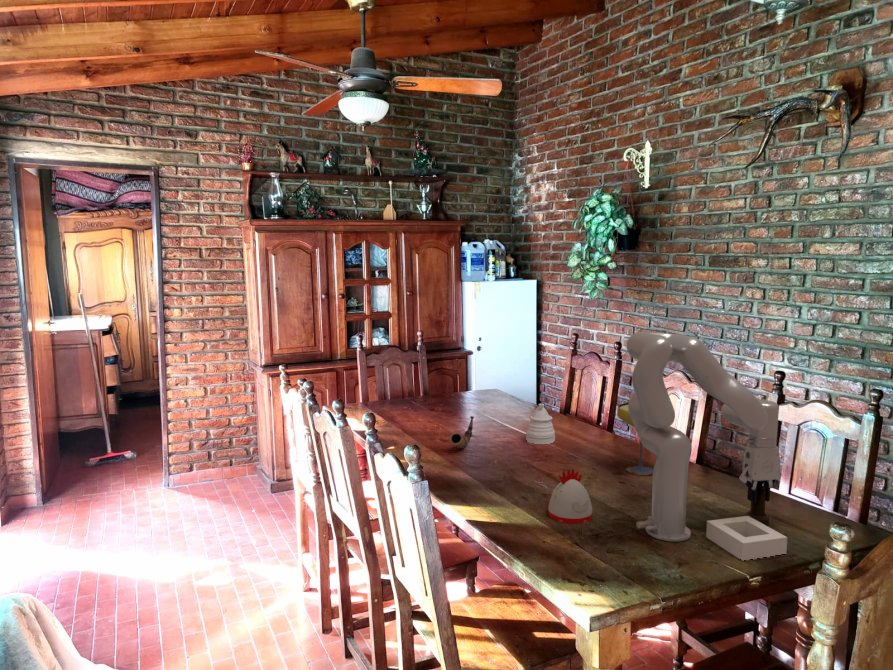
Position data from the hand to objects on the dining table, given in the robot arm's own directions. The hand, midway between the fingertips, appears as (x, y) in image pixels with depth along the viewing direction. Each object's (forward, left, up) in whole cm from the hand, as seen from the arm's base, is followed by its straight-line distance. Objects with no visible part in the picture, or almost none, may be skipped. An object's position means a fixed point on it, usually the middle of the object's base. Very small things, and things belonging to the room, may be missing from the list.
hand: (758, 499), depth 188 cm
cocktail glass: (-7, +53, -8) cm, 54 cm away
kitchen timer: (-51, +22, -8) cm, 57 cm away
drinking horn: (-63, +104, -8) cm, 122 cm away
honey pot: (-29, +99, -8) cm, 104 cm away
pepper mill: (0, 0, -7) cm, 7 cm away
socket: (-13, -11, -8) cm, 19 cm away
